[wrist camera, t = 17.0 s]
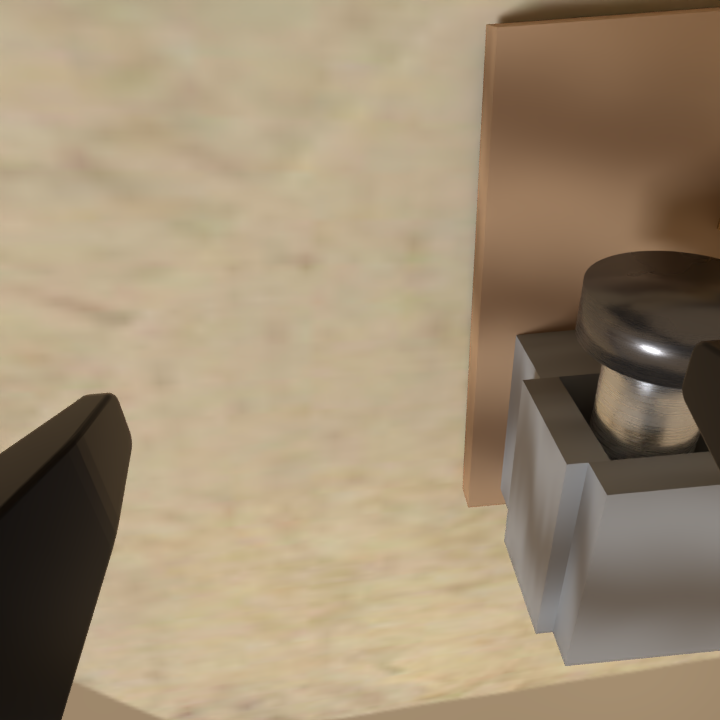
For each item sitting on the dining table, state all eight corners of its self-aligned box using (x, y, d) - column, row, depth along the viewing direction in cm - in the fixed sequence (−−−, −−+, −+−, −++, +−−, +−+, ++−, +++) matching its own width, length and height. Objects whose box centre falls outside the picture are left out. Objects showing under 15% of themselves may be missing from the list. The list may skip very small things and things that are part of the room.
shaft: (558, 257, 17) (632, 342, 13) (716, 244, 17) (838, 323, 13) (515, 570, 25) (553, 681, 21) (624, 559, 25) (682, 668, 21)
